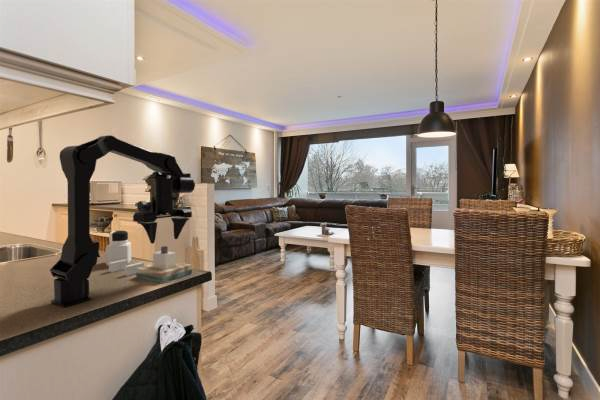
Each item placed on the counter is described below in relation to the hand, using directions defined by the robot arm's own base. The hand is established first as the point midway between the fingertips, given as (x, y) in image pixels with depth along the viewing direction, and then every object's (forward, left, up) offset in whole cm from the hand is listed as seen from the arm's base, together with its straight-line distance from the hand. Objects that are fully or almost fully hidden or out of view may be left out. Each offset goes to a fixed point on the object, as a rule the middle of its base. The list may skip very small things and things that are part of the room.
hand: (164, 241), depth 106 cm
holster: (-4, +15, -11) cm, 19 cm away
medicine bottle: (+2, +28, -12) cm, 30 cm away
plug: (0, 0, -10) cm, 10 cm away
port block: (0, 0, -11) cm, 11 cm away
